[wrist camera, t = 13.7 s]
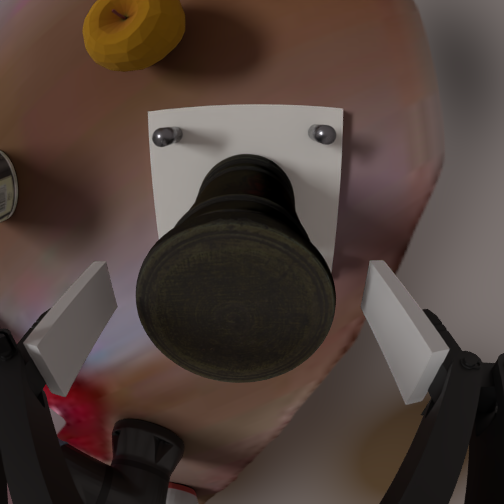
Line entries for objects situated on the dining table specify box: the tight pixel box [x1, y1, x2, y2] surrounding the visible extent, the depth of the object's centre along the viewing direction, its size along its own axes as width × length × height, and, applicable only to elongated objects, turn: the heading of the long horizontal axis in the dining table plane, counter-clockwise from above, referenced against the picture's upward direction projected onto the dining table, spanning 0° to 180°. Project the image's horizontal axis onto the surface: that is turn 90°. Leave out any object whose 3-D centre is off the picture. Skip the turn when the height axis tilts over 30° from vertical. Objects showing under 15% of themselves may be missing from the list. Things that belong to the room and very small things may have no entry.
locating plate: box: [148, 104, 343, 272], centre depth 27 cm, size 18×18×5 cm
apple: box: [83, 0, 185, 72], centre depth 18 cm, size 9×9×9 cm
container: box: [136, 154, 336, 383], centre depth 20 cm, size 9×9×18 cm
